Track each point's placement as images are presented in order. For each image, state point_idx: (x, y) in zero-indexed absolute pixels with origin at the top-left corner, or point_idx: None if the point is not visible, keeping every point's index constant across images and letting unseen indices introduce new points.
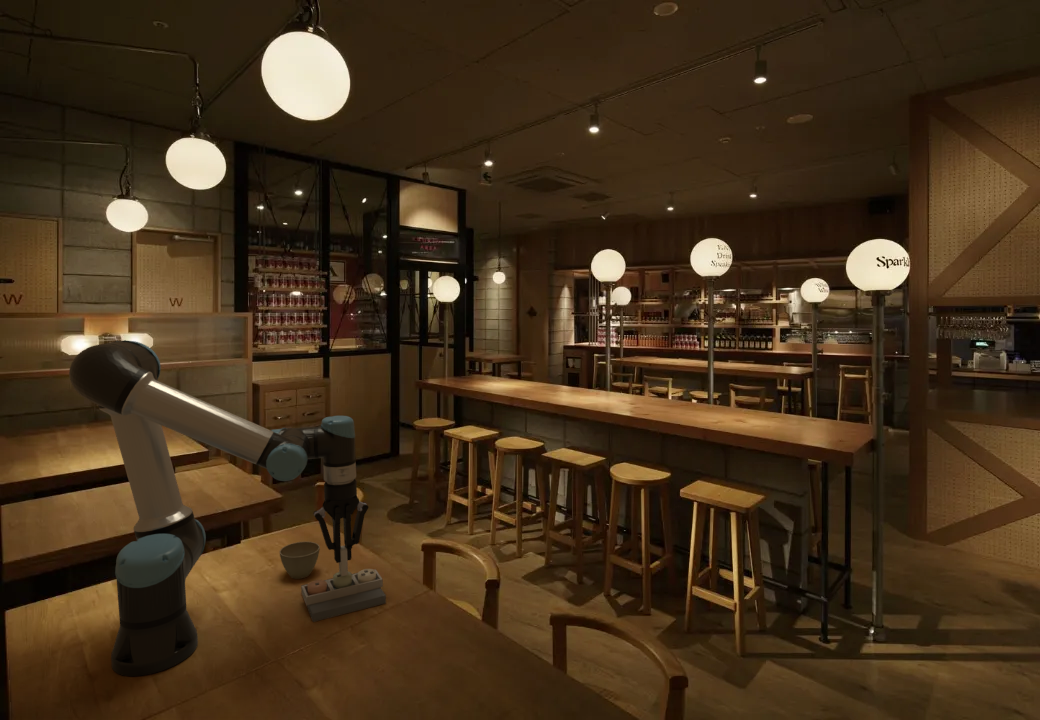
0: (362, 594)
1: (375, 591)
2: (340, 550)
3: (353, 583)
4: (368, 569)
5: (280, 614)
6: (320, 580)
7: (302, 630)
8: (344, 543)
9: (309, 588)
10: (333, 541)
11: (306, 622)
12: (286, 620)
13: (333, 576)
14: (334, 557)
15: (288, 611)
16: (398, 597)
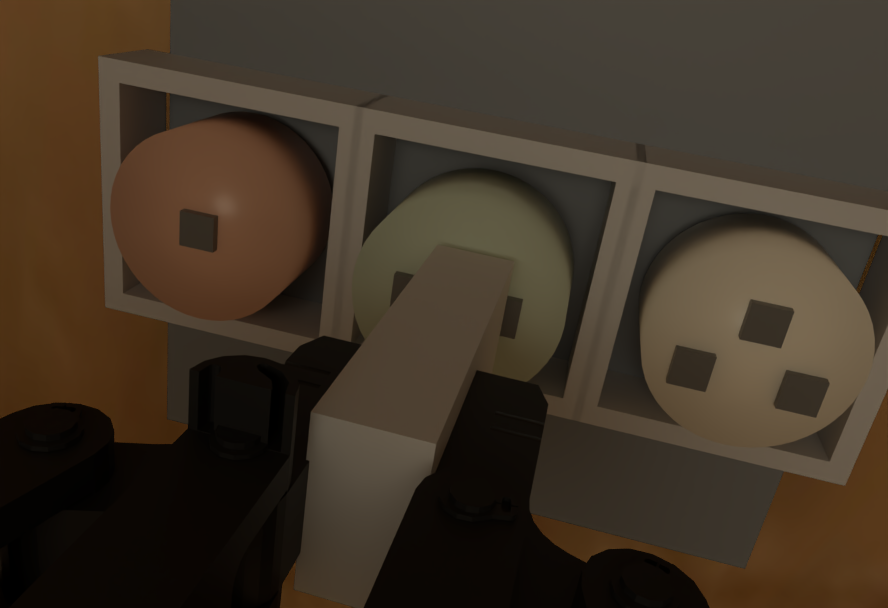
0: (595, 428)
1: (716, 461)
2: (296, 567)
3: (588, 288)
4: (828, 284)
5: (20, 135)
6: (249, 169)
7: (127, 428)
8: (417, 491)
9: (123, 251)
10: (137, 486)
11: (164, 362)
12: (51, 247)
13: (359, 264)
14: (286, 366)
15: (75, 131)
16: (876, 519)
